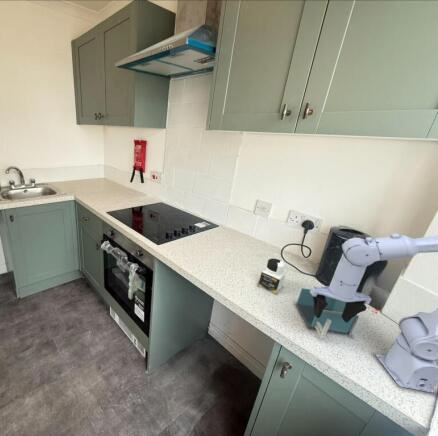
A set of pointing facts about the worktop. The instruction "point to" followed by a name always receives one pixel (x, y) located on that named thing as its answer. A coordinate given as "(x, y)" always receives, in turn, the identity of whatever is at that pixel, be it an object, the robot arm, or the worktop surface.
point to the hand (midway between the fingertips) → (330, 317)
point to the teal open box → (307, 309)
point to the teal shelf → (330, 323)
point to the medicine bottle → (273, 275)
